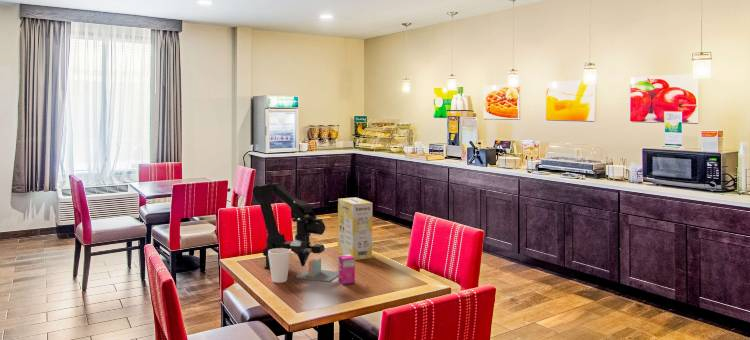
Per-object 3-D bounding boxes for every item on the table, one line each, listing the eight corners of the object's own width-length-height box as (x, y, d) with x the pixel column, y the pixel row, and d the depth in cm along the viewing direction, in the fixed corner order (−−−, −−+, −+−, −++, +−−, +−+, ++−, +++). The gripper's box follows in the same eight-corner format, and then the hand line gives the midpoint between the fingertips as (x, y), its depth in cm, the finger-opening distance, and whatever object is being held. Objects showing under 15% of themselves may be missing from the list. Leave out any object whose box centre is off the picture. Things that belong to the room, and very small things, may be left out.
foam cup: (294, 278, 234) (294, 249, 232) (284, 284, 225) (283, 254, 224) (275, 276, 237) (274, 247, 235) (264, 282, 228) (263, 252, 227)
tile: (308, 276, 236) (308, 262, 235) (316, 271, 243) (316, 257, 242) (313, 277, 235) (313, 262, 234) (321, 272, 242) (321, 258, 242)
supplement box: (337, 281, 231) (337, 255, 230) (350, 279, 233) (350, 254, 232) (342, 285, 225) (342, 258, 224) (355, 283, 228) (355, 257, 227)
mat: (295, 278, 234) (295, 277, 234) (309, 269, 247) (309, 268, 247) (329, 282, 229) (329, 281, 229) (341, 273, 242) (341, 272, 242)
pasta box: (371, 257, 269) (372, 202, 266) (352, 260, 264) (353, 204, 261) (355, 249, 285) (356, 197, 282) (337, 251, 280) (338, 198, 277)
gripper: (275, 234, 234) (275, 268, 236) (314, 237, 228) (314, 273, 230) (287, 228, 244) (287, 262, 246) (325, 232, 239) (325, 266, 240)
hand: (303, 266), depth 240 cm, fingers closed
